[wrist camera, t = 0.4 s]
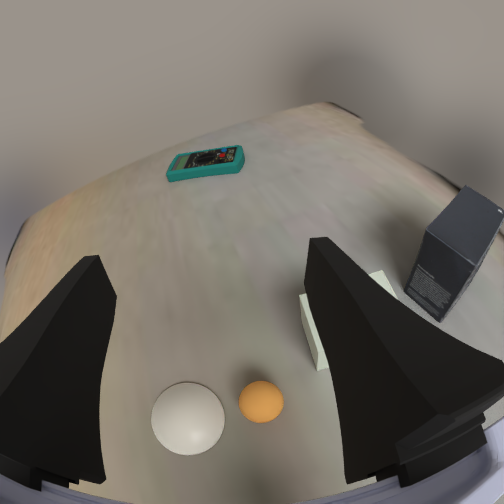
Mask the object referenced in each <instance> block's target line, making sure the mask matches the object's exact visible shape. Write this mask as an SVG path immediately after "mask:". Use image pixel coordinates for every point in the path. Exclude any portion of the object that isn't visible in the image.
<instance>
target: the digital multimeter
mask: <svg viewBox="0 0 504 504" xmlns="http://www.w3.org/2000/svg"><path fill="white" fill-rule="evenodd" d="M244 161H245V157H244V153H243V149H242V146H239V145H235V146H228V147H222V148H216V149H209V150H203V151H196V152H190V153H183V154H178V155H176V157H175V158H174V160H173V161H172V163H171V164H170V166H169V168H168V171H167V173H166V176H167V178H168V180H169V182H174V181H180V180H185V179H191V178H198V177H205V176H213V175H222V174H235V173H239V172H240V170H241V168H242V167H243V165H244Z"/></svg>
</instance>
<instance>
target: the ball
mask: <svg viewBox="0 0 504 504" xmlns="http://www.w3.org/2000/svg"><path fill="white" fill-rule="evenodd" d="M283 404H284V400H283V395H282V393H281V391H280V390H279V389H278V387H277V386H275V385H274V384H272V383H270V382H266V381H256V382H253V383H251V384H249V385H247V386H246V387H245V388H244V389H243V390H242V392H241V394H240V397H239V407H240V410H241V412H242V414H243V415H244V416H245V417H246V418H247V419H249V420H251V421H253V422H257V423H265V422H269V421H271V420H273V419H275V418H276V417H277V416H278V415H279V414H280V412H281V411H282V408H283Z"/></svg>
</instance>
